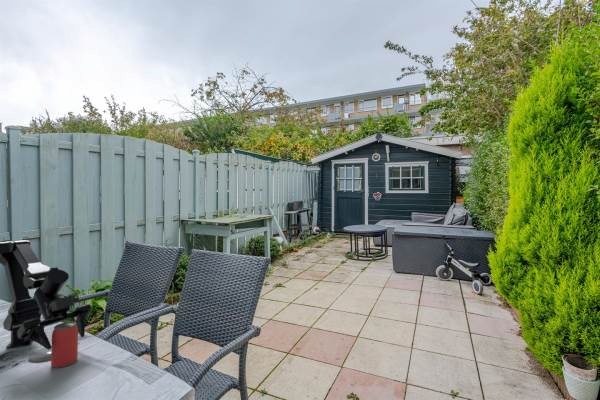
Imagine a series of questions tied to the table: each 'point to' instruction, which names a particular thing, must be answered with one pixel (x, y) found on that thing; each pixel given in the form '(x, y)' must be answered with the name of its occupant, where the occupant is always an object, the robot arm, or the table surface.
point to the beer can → (64, 344)
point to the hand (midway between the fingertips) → (67, 342)
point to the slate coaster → (40, 355)
